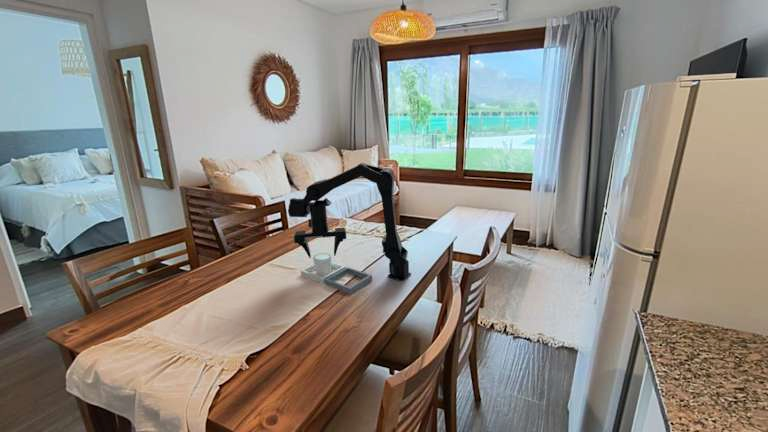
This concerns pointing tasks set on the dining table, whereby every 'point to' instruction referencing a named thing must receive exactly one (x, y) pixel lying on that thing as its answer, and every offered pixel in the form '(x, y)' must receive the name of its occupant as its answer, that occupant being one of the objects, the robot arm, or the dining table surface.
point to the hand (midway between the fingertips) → (322, 256)
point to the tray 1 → (320, 279)
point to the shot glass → (322, 264)
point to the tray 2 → (347, 289)
